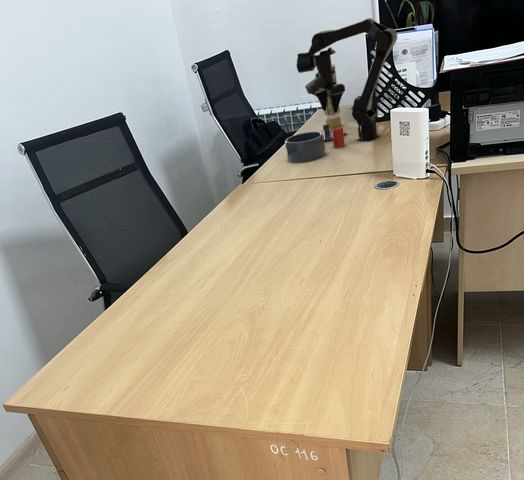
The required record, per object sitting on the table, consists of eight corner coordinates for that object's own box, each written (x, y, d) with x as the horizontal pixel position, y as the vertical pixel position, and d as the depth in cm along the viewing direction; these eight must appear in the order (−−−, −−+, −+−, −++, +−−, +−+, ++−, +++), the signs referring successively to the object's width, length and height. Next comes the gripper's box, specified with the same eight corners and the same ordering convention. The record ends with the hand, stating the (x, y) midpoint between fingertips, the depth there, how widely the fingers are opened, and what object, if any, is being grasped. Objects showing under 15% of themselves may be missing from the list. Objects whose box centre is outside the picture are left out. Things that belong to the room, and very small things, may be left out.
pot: (328, 149, 216) (325, 129, 212) (321, 160, 204) (319, 139, 200) (293, 153, 220) (290, 134, 216) (284, 164, 209) (281, 144, 205)
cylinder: (346, 144, 216) (344, 126, 212) (340, 148, 213) (338, 129, 210) (337, 144, 219) (335, 126, 215) (331, 148, 216) (329, 129, 212)
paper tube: (340, 127, 243) (334, 65, 229) (325, 129, 245) (318, 68, 231) (341, 123, 248) (335, 63, 235) (327, 126, 250) (319, 66, 236)
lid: (348, 130, 236) (347, 117, 233) (342, 139, 224) (341, 126, 221) (312, 134, 241) (311, 122, 238) (305, 144, 229) (303, 131, 226)
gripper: (295, 73, 215) (302, 114, 224) (317, 74, 200) (323, 119, 208) (320, 66, 218) (325, 107, 226) (343, 67, 202) (348, 111, 211)
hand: (329, 111), depth 218 cm, fingers open, 9 cm apart
